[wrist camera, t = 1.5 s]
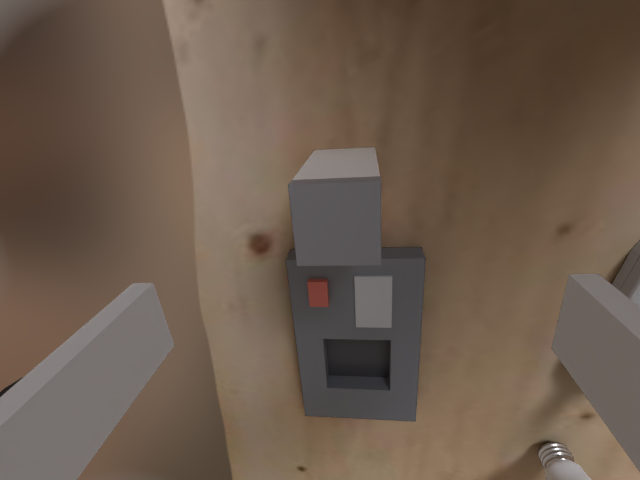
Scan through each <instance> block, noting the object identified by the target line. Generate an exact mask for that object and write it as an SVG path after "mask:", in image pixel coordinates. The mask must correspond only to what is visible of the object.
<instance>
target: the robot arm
mask: <svg viewBox="0 0 640 480" xmlns="http://www.w3.org/2000/svg"><path fill="white" fill-rule="evenodd" d="M173 347H174V342H173V339H172V336H171V334H170V331H169V328H168V325H167V322H166V319H165V316H164V313H163V310H162V307H161V304H160V301H159V298H158V295H157V292H156V289H155V286H154V283H133V284H132V285H130V286H129V287H128V288H127V289H126V290H125V291H123V292H122V293H121V294H120V295H119V296H118V297H117V298H115V299H114V300H113V301H112V302H111V303H110V304H108V305H107V306H106V307H105V308H104V309H103V310H101V311H100V312H99V313H98V314H97V315H96V316H94V317H93V318H92V319H91V320H90V321H89V322H87V323H86V324H85V325H84V326H83V327H82V328H80V329H79V330H78V331H77V332H76V333H75V334H74V335H72V336H71V337H70V338H69V339H68V340H66V341H65V342H64V343H63V344H62V345H61V346H59V347H58V348H57V349H56V350H55V351H54V352H52V353H51V354H50V355H49V356H48V357H47V358H45V359H44V360H43V361H42V362H41V363H40V364H38V365H37V366H36V367H35V368H34V369H33V370H31V371H30V372H29V373H28V374H27V375H26V376H24V377H22V378H21V379H19V380H18V381H16V382H14V383H13V384H11V385H9V386H8V387H6V388H5V389H4V390H2V391H1V392H0V480H77V479H78V477H79V476H80V475H81V473H82V472H83V470H84V469H85V468H86V466H87V465H88V463H89V462H90V461H91V459H92V458H93V457H94V455H95V454H96V452H97V451H98V450H99V448H100V447H101V446H102V444H103V443H104V441H105V440H106V439H107V437H108V436H109V435H110V433H111V432H112V431H113V429H114V428H115V426H116V425H117V424H118V422H119V421H120V420H121V418H122V416H123V415H124V414H125V413H126V411H127V410H128V409H129V407H130V406H131V404H132V403H133V402H134V400H135V399H136V398H137V396H138V395H139V393H140V392H141V391H142V389H143V388H144V387H145V385H146V384H147V382H148V381H149V380H150V378H151V377H152V376H153V374H154V372H155V371H156V370H157V369H158V367H159V366H160V365H161V363H162V362H163V361H164V359H165V358H166V356H167V355H168V354H169V352H170V351H171V350H172V348H173ZM552 350H553V351H554V353H555V354H556V356H557V357H558V358H559V360H560V361H561V363H562V364H563V365H564V367H565V368H566V370H567V371H568V372H569V374H570V375H571V377H572V378H573V379H574V381H575V382H576V384H577V385H578V386H579V388H580V389H581V391H582V392H583V393H584V395H585V396H586V398H587V399H588V400H589V402H590V403H591V405H592V406H593V407H594V409H595V410H596V412H597V413H598V414H599V416H600V417H601V419H602V420H603V421H604V423H605V424H606V426H607V427H608V428H609V430H610V431H611V433H612V434H613V435H614V437H615V438H616V440H617V441H618V442H619V444H620V445H621V447H622V448H623V449H624V451H625V452H626V454H627V455H628V456H629V458H630V459H631V461H632V462H633V463H634V465H635V466H636V468H637V469H638V470H639V472H640V307H639V306H638V305H636V304H635V303H634V302H633V301H632V300H630V299H629V298H628V297H627V296H625V295H624V294H623V293H622V292H620V291H619V290H618V289H617V288H615V287H614V286H613V285H612V284H610V283H609V282H608V281H607V280H605V279H604V278H603V277H602V276H600V275H599V274H569V276H568V280H567V285H566V289H565V293H564V297H563V302H562V306H561V310H560V314H559V319H558V323H557V327H556V332H555V336H554V340H553V344H552Z"/></svg>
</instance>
